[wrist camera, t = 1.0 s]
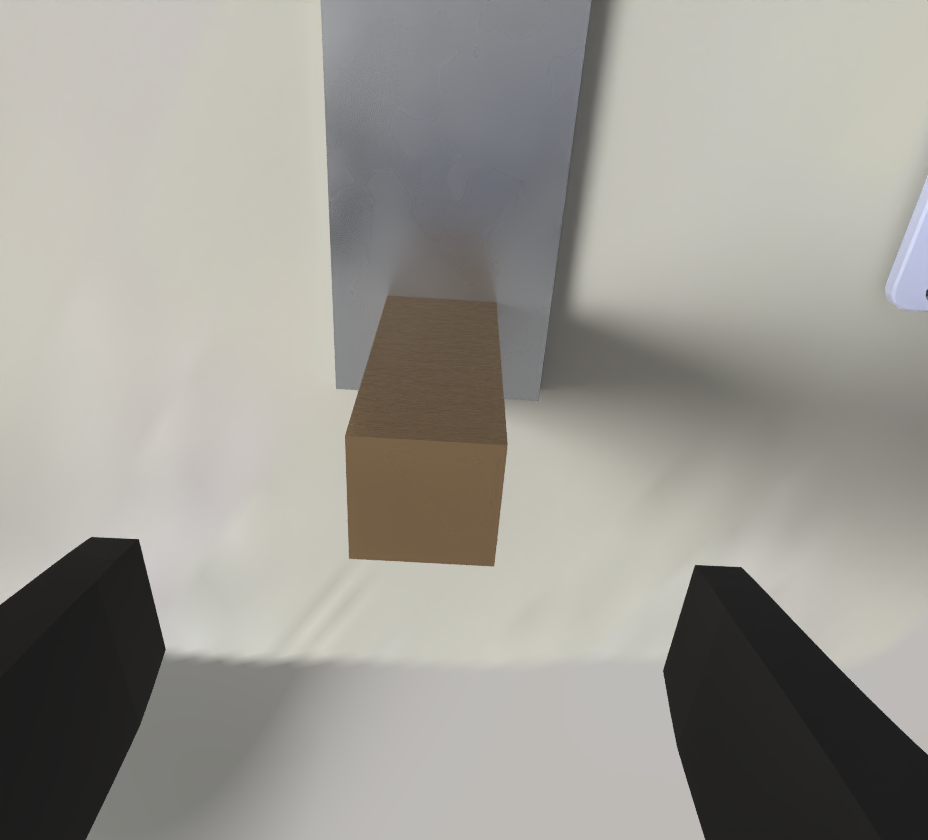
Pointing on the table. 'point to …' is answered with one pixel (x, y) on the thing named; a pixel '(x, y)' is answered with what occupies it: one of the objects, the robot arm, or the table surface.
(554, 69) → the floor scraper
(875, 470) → the table surface
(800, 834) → the robot arm
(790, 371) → the table surface
